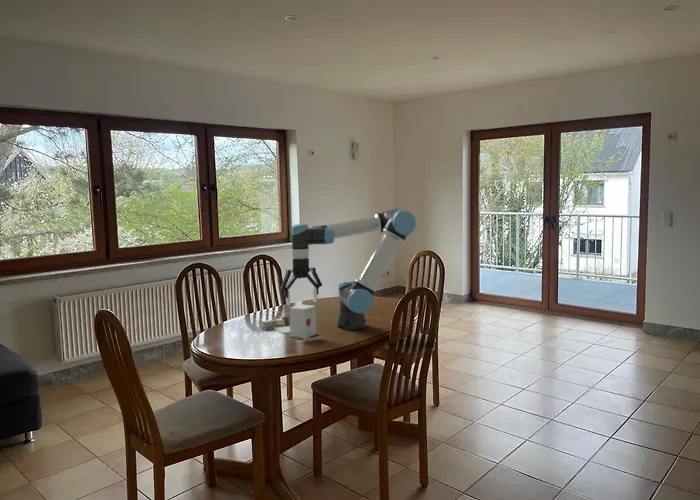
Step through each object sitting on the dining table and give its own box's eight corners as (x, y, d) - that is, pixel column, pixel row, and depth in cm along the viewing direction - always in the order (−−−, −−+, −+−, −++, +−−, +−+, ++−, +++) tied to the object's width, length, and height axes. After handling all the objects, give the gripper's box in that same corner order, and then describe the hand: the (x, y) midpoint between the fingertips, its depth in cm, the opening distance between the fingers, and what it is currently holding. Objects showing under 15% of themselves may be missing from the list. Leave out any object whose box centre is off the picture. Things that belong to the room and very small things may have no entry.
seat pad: (303, 330, 262) (303, 329, 262) (282, 334, 256) (282, 332, 256) (294, 326, 271) (294, 324, 271) (274, 329, 266) (274, 327, 266)
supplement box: (305, 341, 247) (304, 309, 246) (290, 339, 252) (288, 307, 251) (317, 336, 255) (316, 305, 253) (301, 334, 260) (300, 303, 258)
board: (307, 333, 262) (306, 322, 262) (263, 340, 252) (263, 329, 251) (285, 321, 286) (284, 312, 286) (244, 327, 276) (244, 317, 275)
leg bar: (287, 324, 275) (287, 315, 275) (290, 325, 272) (289, 317, 271) (261, 328, 269) (261, 319, 268) (264, 329, 265) (263, 320, 265)
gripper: (321, 255, 259) (322, 299, 261) (272, 259, 247) (273, 304, 249) (328, 256, 252) (329, 301, 255) (278, 260, 240) (279, 307, 243)
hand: (301, 303), depth 252 cm, fingers open, 13 cm apart
